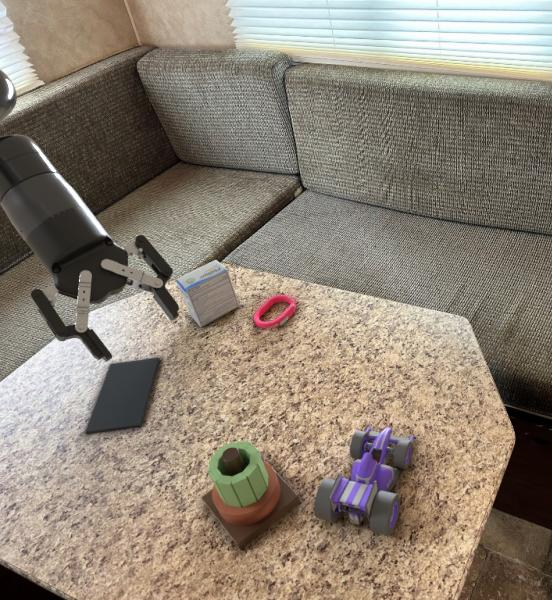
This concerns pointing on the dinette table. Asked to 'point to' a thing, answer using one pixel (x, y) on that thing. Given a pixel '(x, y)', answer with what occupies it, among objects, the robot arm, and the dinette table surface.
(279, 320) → the fitness band
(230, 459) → the stand
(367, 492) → the toy race car
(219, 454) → the green ring
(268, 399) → the dinette table surface
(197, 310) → the medicine box
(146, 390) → the mat
